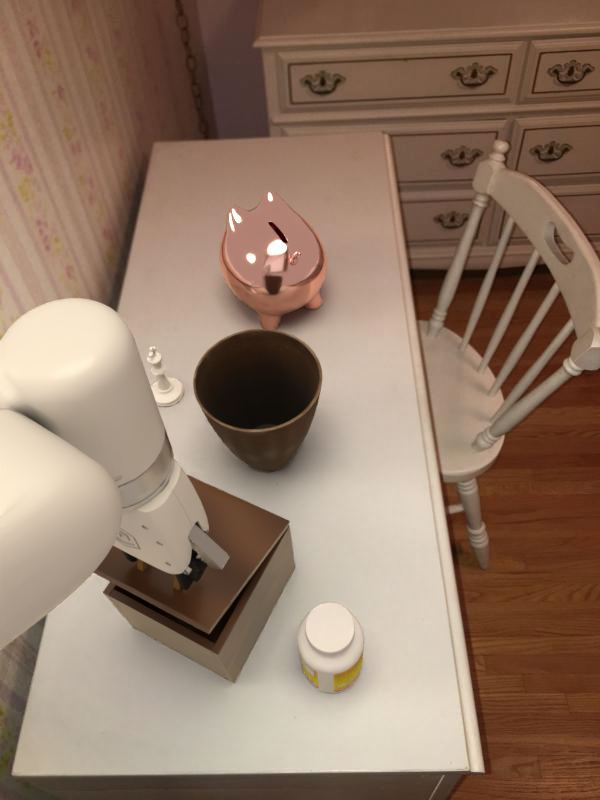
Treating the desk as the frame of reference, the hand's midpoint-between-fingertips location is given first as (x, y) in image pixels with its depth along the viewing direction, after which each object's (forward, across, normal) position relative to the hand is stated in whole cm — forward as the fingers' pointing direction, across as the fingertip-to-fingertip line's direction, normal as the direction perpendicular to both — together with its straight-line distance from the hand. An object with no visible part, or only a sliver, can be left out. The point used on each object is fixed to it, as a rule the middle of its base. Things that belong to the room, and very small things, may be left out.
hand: (166, 560), depth 59 cm
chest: (+18, 0, +4) cm, 19 cm away
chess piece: (+18, -22, +26) cm, 39 cm away
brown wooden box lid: (+4, 0, +3) cm, 5 cm away
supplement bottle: (+19, +15, +3) cm, 24 cm away
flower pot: (+18, -4, +24) cm, 31 cm away
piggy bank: (+17, -17, +50) cm, 56 cm away
